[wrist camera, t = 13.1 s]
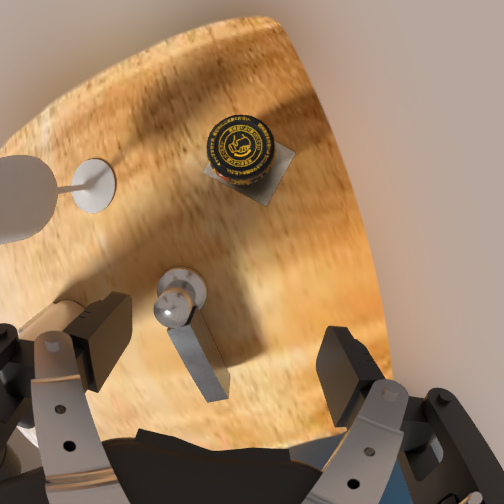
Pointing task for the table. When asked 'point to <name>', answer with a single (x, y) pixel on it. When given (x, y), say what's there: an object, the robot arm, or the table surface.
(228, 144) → the condiment
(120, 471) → the robot arm
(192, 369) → the swing arm
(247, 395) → the table surface
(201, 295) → the swing arm mount
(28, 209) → the wineglass
